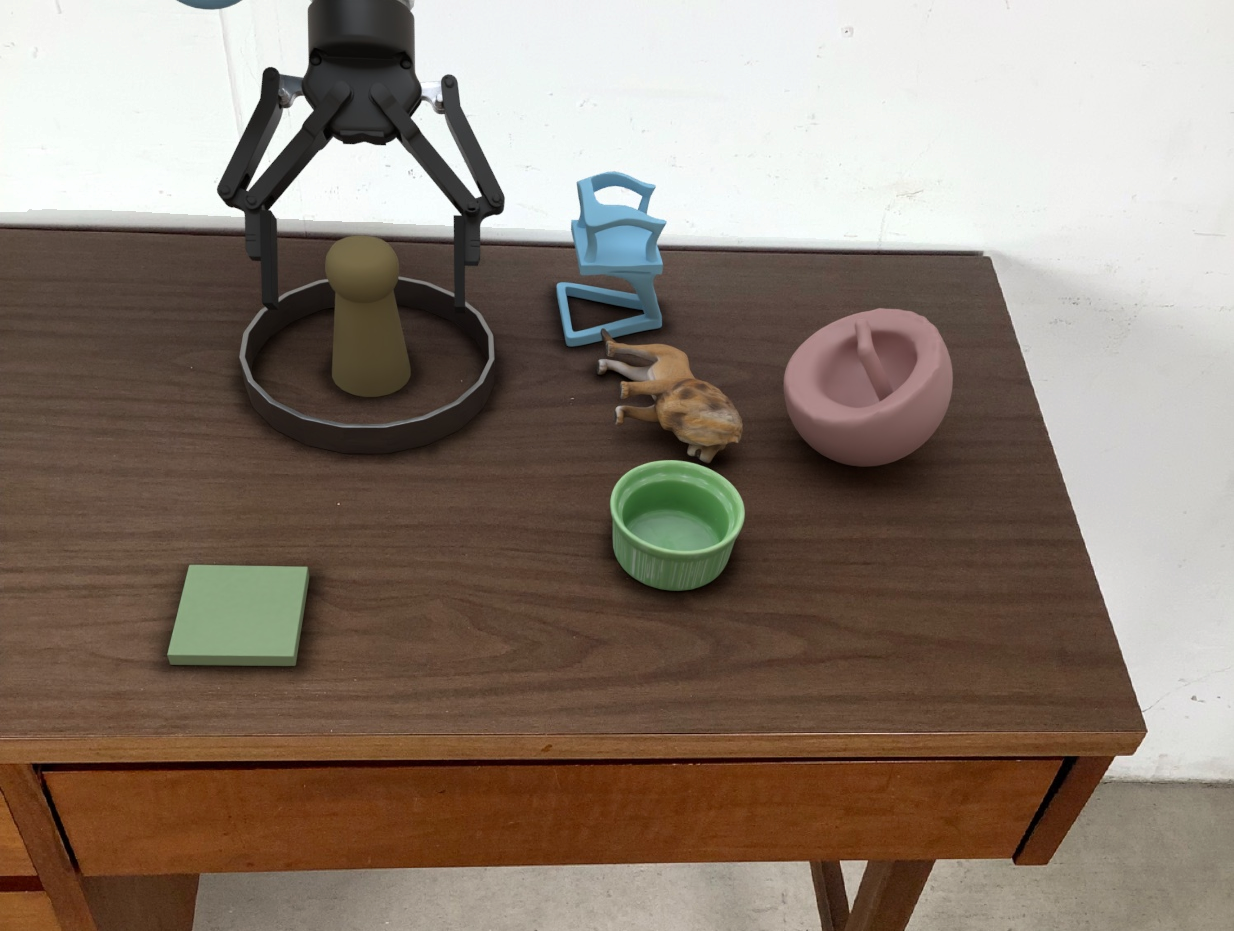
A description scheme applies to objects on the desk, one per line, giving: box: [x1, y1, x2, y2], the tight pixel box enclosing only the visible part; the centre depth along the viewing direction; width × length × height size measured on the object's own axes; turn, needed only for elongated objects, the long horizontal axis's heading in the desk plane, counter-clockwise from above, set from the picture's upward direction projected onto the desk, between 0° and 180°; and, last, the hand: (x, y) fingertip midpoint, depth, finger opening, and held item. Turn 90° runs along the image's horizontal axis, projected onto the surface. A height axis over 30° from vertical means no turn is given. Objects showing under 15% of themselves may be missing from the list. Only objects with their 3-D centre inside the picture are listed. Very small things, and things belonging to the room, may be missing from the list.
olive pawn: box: [324, 234, 412, 398], centre depth 90 cm, size 6×6×11 cm
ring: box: [238, 275, 495, 455], centre depth 93 cm, size 19×19×2 cm
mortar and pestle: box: [782, 307, 954, 468], centre depth 89 cm, size 12×12×12 cm
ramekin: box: [609, 459, 746, 592], centre depth 82 cm, size 9×9×4 cm
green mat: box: [166, 564, 310, 667], centre depth 77 cm, size 8×8×1 cm
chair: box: [556, 170, 668, 347], centre depth 97 cm, size 8×8×12 cm
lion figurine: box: [596, 328, 744, 464], centre depth 92 cm, size 15×5×9 cm
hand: (366, 309), depth 89 cm, fingers open, 13 cm apart
